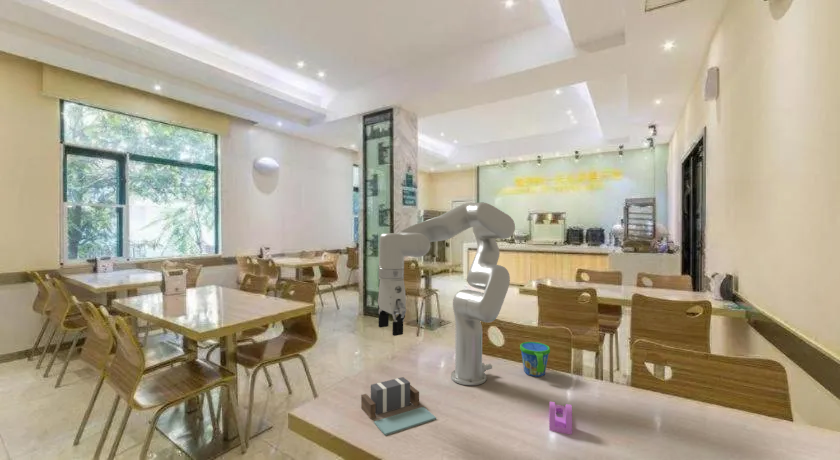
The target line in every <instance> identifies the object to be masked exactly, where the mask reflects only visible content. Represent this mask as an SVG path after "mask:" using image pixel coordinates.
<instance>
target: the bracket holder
mask: <svg viewBox="0 0 840 460" xmlns="http://www.w3.org/2000/svg"><path fill="white" fill-rule="evenodd" d="M360 396H361V398H360V400H361V409H362V411H363V412H364V413H365V414H366V415H367V416H368V418H369V419H370V420H372V419H375V418H376V413H375V409H376V404H375V403H374V402H373V400H372V399H371V396H370V395H368V394H367V393H364V394H361V395H360ZM410 404H412V405H413V406H414V407H416V406H419V405H420V391H419V390H417V388H415V387H414V386H412V384H410Z"/></svg>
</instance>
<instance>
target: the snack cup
mask: <svg viewBox="0 0 840 460" xmlns="http://www.w3.org/2000/svg"><path fill="white" fill-rule="evenodd" d="M519 349H520V351H521V361H522V367H523V371H524V373H525V374H526V375H527V376H531V377H536V378H537V377H543V376H545V375H546V371H547V364H548V358H549V354H550V352H551V348H550V346H549V345H548V344H545V343H542V342H536V341H525V342H522V343H520V344H519Z"/></svg>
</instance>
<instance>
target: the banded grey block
mask: <svg viewBox="0 0 840 460" xmlns="http://www.w3.org/2000/svg"><path fill="white" fill-rule="evenodd" d="M410 385H411V382H410V381H409V380H408V379H407V378H405V377H404V376H403V377H397V378H394V379H390V380H384V381H381V382H375V383H373V384H370V398H371V399H372V400H373V402H374V403H375V404H376V409H375V415H380V414H384V413H387V412H392V411H395V410H397V409H401V408H405V407H408V406H410V405H411V402H410Z"/></svg>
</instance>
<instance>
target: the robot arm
mask: <svg viewBox="0 0 840 460" xmlns="http://www.w3.org/2000/svg"><path fill="white" fill-rule="evenodd" d="M515 224H516V223H515V221H514V219H513V218H512V216H511V215H509V214H508V213H505V212H504V211H502V210H500V208H497V207H495V206H493V205H491V204H490V203H487V202H466V203H463V204H460V205H458V206H456V207H454V208H453V209H449V210H448V211H447V212H444V213H442V214H440V215H438V216H434V217H432V218H429V219H426V220H423V221H421V222H417V223H415V224H413V225H410V226H408V227H406V228H404V229H402V230H400V231H398V232H397V233H396V232H393V233H392V232H387V233H386V232H384V233H381V235H379V246H378V247H379V248H378V249H379V252H378V256H379V257H378V260H379V261H378V280H379V286H378V296H377V301H376V302H377V308H378V312H377V313H378V327H379V328H387V327H389V323H390V322H389V319H390V317H389V314H390V315H392V319H393V321H392V333H391V334H392V336H393V337H395V336H402V335H403V334H404V322H405V318H406V312H407V305H406V304H407V303H406V301H407V300H406V299H407V298H406V287H405V280H404V278H405V276H404V275H405V257H412V258H421V257H424V256H425V255H427V254H428V253H429V251H430V250H431V243H432V242H433V243H434V242H435V243H436V242H442V241H446V240H447V241H448V240H450V239H453V238H454V237H455V236H458V235H459V234H461V233H463V232H464V231H466V230H468V229H470V228H472V232H473V234H474V236H475V240H476V244H477V245H476V247H477V248H476V253H475V255H474V257H473V260H472V262H471V264H470V265H471V266H470V267H469V270H468V273H467V277H466V281H467V284H468V285H469V286H471V287H472V288H475V289H478V290H483V292H481V291H478V290H472V289H462V290H459V291H457V292H456V293H455V294H454V296H453V299H452V308H453V309H452V310H453V314H454V315H453V316H454V322H455V337H454V338H455V341H454V343H455V346H454V347H455V350H454V351H455V352H454V354H455V355H454V358H455V361H454V362H455V363H454V365H455V366H454V367H455V368H454V370H453V371H451V373H450V378H451V381H453V382H455V383H457V384H459V385H463V386H478V385H482V384H483V383H486V381H487V375H486V373H485V372H487V371H488V370H489V371H490V370H492V369H493V365H492V364H491V363H487V364H485V363H484V362H483V326H482V323H492V322H494V321H495V320H496V319H497V318H498V317H499V314H500V312H501V309H502V307H503V304H504V301H505V298H506V296H507V293H508V290H509V288H510V284H511V283H510V281H511V277H510V273H509V270H508V269H507V268H506V267H505V266H504V265H503V266H502V265H499V264H498V262H499V259H500V248H499V245H498V243H497V240H498V239H499V240H505V239H509V238H510V237H512V236H513V235H514V234H515V230H516V225H515ZM496 239H497V240H496ZM481 322H482V323H481Z"/></svg>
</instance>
